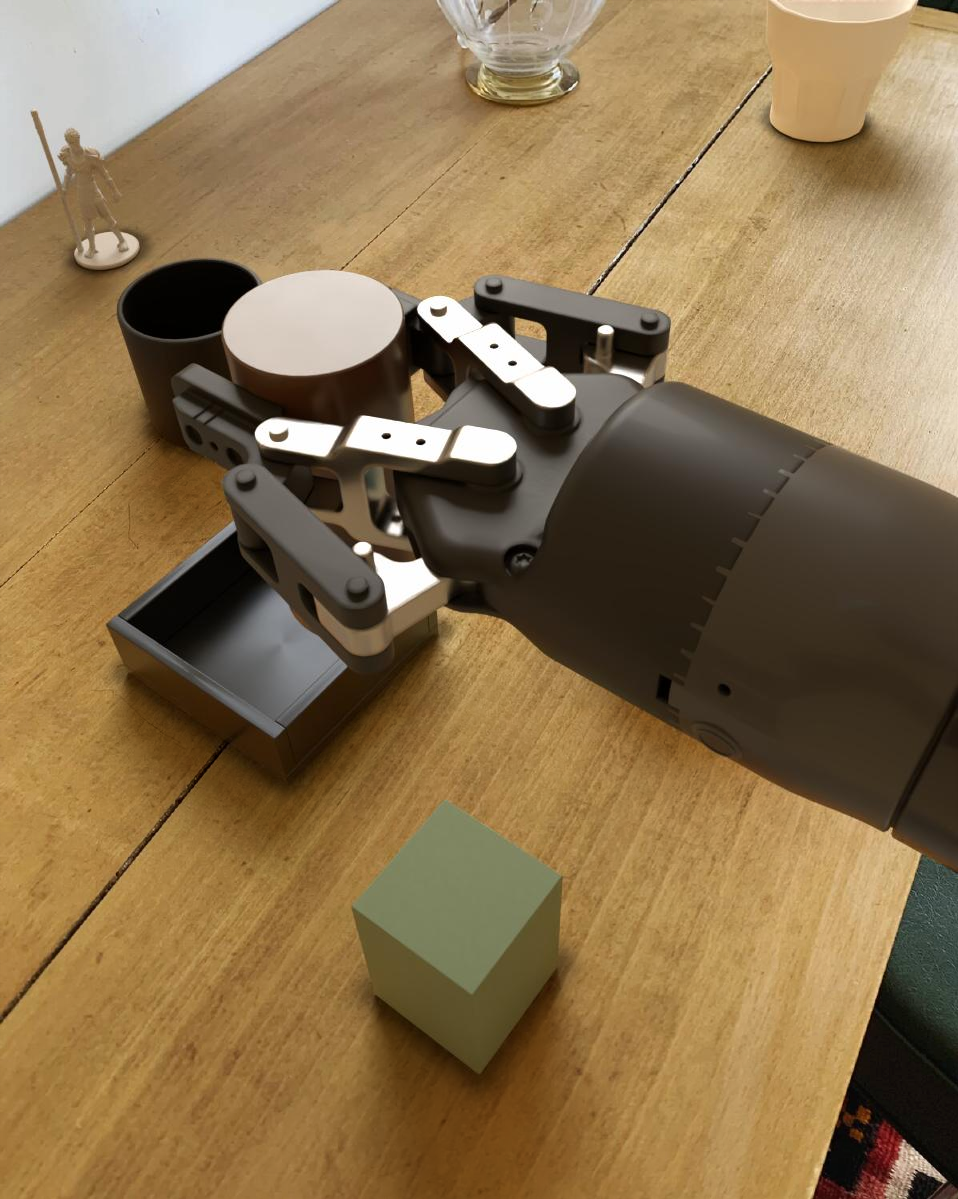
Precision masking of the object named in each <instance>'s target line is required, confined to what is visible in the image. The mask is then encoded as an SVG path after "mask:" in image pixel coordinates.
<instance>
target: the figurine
mask: <svg viewBox="0 0 958 1199" xmlns="http://www.w3.org/2000/svg"><path fill="white" fill-rule="evenodd" d="M30 115H31V118H32V122H33V124H34V128H35V130H36V133H37V135H38V137H39V140H40V143H41V147H42V148H43V152H44V155H45V157H46V160H47V163H48V165H49V169H50V172H51V175H52V178H53V181H54V184H55V186H56V190H57V192H58V193H57V198H58V199H59V200H60V202H61V204H62V207H63V210H64V214H65V216H66V218H67V222H68V224H69V228H70V230H71V234H72V238H73V240H74V243H75V246H76V247H75V249H74V253H73V255H74V259H75V262H76V263H77V264H78V265H79V266H81V267H83V268H85V269H88V270H93V271H94V270H98V271H103V270H109V269H115V268H118V267H121V266H123V265H125V264H127V263H130V261H132V260H133V259H135V258H136V256H137V255H139V252H140V248H141V247H140V242H139V240H138V239H137V238H136V237H135V235H132V234H130V233H127V232H123V231H121V230H120V228H119V225H118V223H117V221H116V220H115V219H114V217H113V216H112V214H111V213H112V212H111V211H110V210H109V208H108V205H109V202H108V200H107V199H106V198H105V196H104V195H103V193H102V192H101V190H100V189H99V187H98V185H97V183H96V180H95V175H94V174H93V170H94V171H96V172H97V173H98V174H99V175H100V177H101V178H103V180H104V183H105V184H106V185H107V187H108V188H109V189H110V191H111V193H112V199H113V200H114V201H115V202H116V203H119V202H121V201H122V199H123V196H122V194H121V192H119V190H118V189H117V186H116V183H115V182H114V180H113V179H114V178H112V177H110V174H109V171H108V170H106V168H105V166H104V163H105V158H103V157H102V156H101V153H100V151H99V150H98V149H96V148H95V147H93V146H85V147H84V146H82V145H81V135H80V133H79V131H78V130H77V129H75V127H69V128H67V129H66V131H65V132H63V135H64V136H63V137H64V141H65V142H66V143H67V144H65V145H63V146H62V147H61V149H60V151H59V153H57V154H56V156H57V159H58V160H59V161H60V162H62V165H63V166H64V167H66V168H65V173H64V175H63V184H62V182H61V179H60V176H59V173H58V171H57V167H56V164H55V162H54V159H53V156H52V153H51V150H50V146H49V144H48V141H47V138H46V135H45V130H44V127H43V124H42V122H41V119H40V116H39V112H38V110H37V109H36V108H32V109H30ZM73 175H74V176H73ZM73 177H74V179H75V182H76V188H77V199H76V200H77V203H78V205H79V209H80V213H81V220H82V221H83V225H84V226H83V231H84V233H85V235H86V238H85V239H84V240H82V239H81V235H80V234H79V231H78V228H77V226H76V224H75V220H74V217H73V213H72V211H71V208H70V205H69V203H68V200H67V195H68V191H69V189H70V185H71V182H72V179H73ZM99 217H100V218H101V219H102V220H104V222H105V223H106V227H107V229H109V230H110V231H105V232H100V233H97V234H96V232H95V227H94V224H93V222H92V221H93V220H96V219H98V218H99Z"/></svg>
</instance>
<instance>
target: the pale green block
mask: <svg viewBox="0 0 958 1199" xmlns="http://www.w3.org/2000/svg"><path fill="white" fill-rule="evenodd" d="M563 878H564V877H563V875H562V874H560V873H559V872H557V871H556V870H554V869H553V868H552V867H550V866H549V865H547V864H546V863H544V862H542V861H541V860H539V859H538V858H536V857H535V856H533V855H532V854H530V853H528V852H527V851H526V850H524V849H522V848H521V847H520V846H517V845H516V844H515V843H513V842H512V841H511V840H509V839H507V838H506V837H504V836H503V835H501V834H499V833H498V832H497V831H495V830H493V829H492V828H490V827H489V826H488V825H486V824H485V823H482V822H481V821H480V820H478V819H476V818H475V817H474V816H472V815H470V814H469V813H467V812H466V811H464V810H463V809H461V808H459V807H458V805H455V804H453V802H451V801H449V800H447V799H446V798H444V799H443V800H442V802H440V804H439V805H438V806H437V807H436V808H435V809H434V810H433V811H432V812H431V813H430V815H429V816H428V817H427V818H426V820H425V821H424V822H423V823H422V824H421V825H420V827H419V828H418V829H417V830H416V831H415V832H414V833H413V835H412V836H411V837H410V838H409V839H408V840H407V841H406V842H405V844H403V846H402V847H401V848H400V850H399V851H397V853H396V854H395V855H394V856H393V857H392V858H391V860H390V861H389V862H388V864H387V865H386V866H385V867H384V868H383V869H382V870H381V871H380V872H379V873H378V875H377V876H376V877H375V878H374V879H373V881H372V882H371V883H370V884H369V885H368V886H367V888H365V890H364V891H363V892H362V893H361V894H360V896H358V898H357V899H356V900H355V901H354V902H353V904H351V906H350V908H351V912H352V915H353V916H352V917H353V918H354V923H355V926H356V930H357V933H358V938H359V941H360V946H361V949H362V953H363V955H364V960H365V962H366V963H365V964H366V967H367V971H368V974H369V979H370V982H371V986H372V989H373V993H374V995H375V996H376V997H377V998H379V999H380V1000H382V1002H384V1003H385V1004H387V1005H388V1006H389V1007H391V1008H392V1009H393V1010H394V1011H396V1012H397V1013H399V1014H400V1015H401V1016H402V1017H404V1018H405V1019H406V1020H408V1021H409V1022H410V1023H411V1024H413V1025H414V1026H415V1027H416V1028H418V1029H419V1030H420V1031H422V1032H423V1033H425V1034H426V1035H427V1036H428V1037H429V1038H431V1039H432V1040H433V1041H435V1042H436V1043H437V1044H438V1045H440V1046H441V1047H442V1048H444V1049H445V1050H446V1051H447V1052H449V1053H450V1054H452V1055H453V1056H454V1057H456V1058H457V1059H458V1060H459V1061H461V1062H462V1063H463V1064H465V1066H467V1067H469V1069H471V1070H472V1071H474V1072H475V1073H476V1074H477V1075H481V1074H482V1073H483V1071H484V1070H485V1068H486V1067H487V1066H488V1064H489V1063H490V1062H491V1060H492V1059H493V1057H494V1056H495V1054H496V1053H497V1051H498V1050H499V1049H500V1047H501V1046H502V1045H503V1043H504V1042H505V1041H506V1039H507V1038H508V1036H509V1035H510V1034H511V1032H512V1031H513V1029H514V1028H515V1026H516V1025H517V1024H518V1022H520V1020H521V1019H522V1017H523V1016H524V1014H525V1013H526V1012H527V1010H528V1008H529V1007H530V1006H531V1004H532V1003H533V1001H534V1000H535V999H536V997H537V996H538V995H539V993H540V992H541V990H542V989H543V988H544V986H545V985H546V983H548V982H549V979H550V978H551V976H553V974H554V973H555V971H556V970H557V968H558V966H559V949H560V930H561V914H562V913H561V912H562V895H563V894H562V893H563Z"/></svg>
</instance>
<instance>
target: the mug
mask: <svg viewBox="0 0 958 1199" xmlns="http://www.w3.org/2000/svg"><path fill="white" fill-rule="evenodd" d="M261 284H263V282H262V280H261V278H260V277H259V275H258V274H257V273H256V272H254V271H253V270H252V269H251V268H249V267H247V266H246V265H244V264H242V263H239V262H236V261H233V260H229V259H223V258H218V257H217V258H216V257H195V258H187V259H182V260H176V261H172V262H168V263H165V264H163V265H160V266H157V267H155V268H152V269H151V270H148V271H146V272H144V273H143V274H141V275H140V276H138V277H137V278H135V279H134V280H132V282H130V283H129V284H128V285H127V287H126V288H125V289H124V290H123V291H122V293H121V294H120V296H119V298H118V300H117V304H116V318H117V321H118V325H119V328H120V330H121V334H122V337H123V340H124V342H125V346H126V349H127V352H128V356H129V358H130V360H131V364H132V367H133V369H134V370H133V371H134V374H135V377H136V379H137V382H138V385H139V389H140V392H141V394H142V397H143V401H144V403H145V406H146V409H147V412H148V415H149V419H150V422H151V424H152V426H153V428H154V429H155V431H157V433H158V434H159V435H160V436H161V437H162V438H163V439H165V440H166V441H167V442H169V443H171V444H173V445H175V446H176V447H179V448H183V449H186V450H191V449H190V447H189V446H188V444H187V443H186V441H185V440H184V437H183V434H182V430H181V427H180V424H179V421H178V417H177V414H176V411H175V408H174V404H173V401H172V400H173V399H174V398H175V395H174V391H173V388H172V384H171V378H172V377H173V376H174V375H176V374H177V373H179V372H180V371H182V370H183V369H185V368H186V367H187V366H189V365H190V364H193V363H194V364H197V365H200V366H202V367H203V368H205V369H207V370H209V371H211V372H213V373H215V374H217V375H219V376H221V377H223V378H225V379H227V380H229V381H231V382H233V381H232V377H231V373H230V369H229V365H228V361H227V357H226V353H225V349H224V345H223V341H222V334H221V331H222V325H223V321H224V319H225V316H226V314H227V313H228V311H229V309H230V308H231V307H232V306H233V304H234V303H235V302H236V301H237V300H238V299H239V298H241V297H242V296H243V295H244V294H246V293H247V292H248V291H250V290H252V289H253V288H255V287H257V286H259V285H261Z"/></svg>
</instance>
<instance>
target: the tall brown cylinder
mask: <svg viewBox="0 0 958 1199" xmlns="http://www.w3.org/2000/svg"><path fill="white" fill-rule="evenodd" d="M384 284H385V283H382V282H380V281H379V280H377V279H375V278H372V277H370V276H367V275H364V274H361V273H357V272H352V271H347V270H339V269H334V270H330V269H312V270H303V271H298V272H293V273H289V274H285V275H281V276H278V277H275V278H273V279H270V280H266V281H265V282H262V284H261V285H259V286H257V287H255V288H253V289H252V290H250V291H248V292H247V293H246V294H244V295H243V296H242V297H241V298H239V299H238V300H237V301H236V302H235V303H234V304H233V306H232V307H231V308H230V309H229V311H228V313H227V314H226V316H225V319H224V321H223V325H222V331H221V334H222V341H223V345H224V349H225V353H226V357H227V361H228V365H229V369H230V373H231V377H232V381H233V383H235V384H237V385H239V386H241V387H243V388H245V389H246V390H248V391H250V392H251V393H253V394H255V395H257V396H260V397H262V398H264V399H266V400H268V401H270V402H272V403H274V404H276V405H278V406H280V407H282V412H283V416H284V417H290V418H295V419H301V420H307V421H313V422H318V423H324V424H330V425H335V426H342V427H345V426H348V425H349V424H350V422H351V420H352V419H353V418H355V417H357V416H369V417H375V418H381V419H387V420H392V421H398V422H404V423H410V424H414V423H415V422H416V416H415V407H414V406H415V405H414V396H413V387H412V376H411V375H410V365H409V355H408V345H407V335H406V325H405V315H404V310H403V306H402V304H401V302H400V300H399V299H398V297H397V296H396V295H395V293H394V292H393V291H392V290H390V289H389V288H388V287H387V286H388V285H387V286H385V285H386V284H385V285H384ZM311 471H312V475H315V476H320V477H325V478H331V479H336V480H338V478H337V476H336V475H335V474H333V473H332V472H330V471H327V470H323V469H317V468H312V467H311ZM383 471H384V479H385V486H386V490H387V492H388V494H389V495H390V496H391V497H392V498H393V499H394V500H396V495H395V487H394V479H393V469H388V468H383ZM323 523H324V524H325V525H326V526H327V527H328V528H330V529H331V530H332V531H333V532H334V533H335V534H336V535H337V536H338V537H339V538H340V539H341V540H342V541H343V542H344V543H345V544H346V545H348V546H349V547H350V548H351V549H352V547H353V546H354V545H355V544H357V543H360V542H361V541H358V540H356V539H355V538H353V537H352V536H351V535H350V534H349V533H348V532H347V531H346V530H345V529H344V528H343V527H342V526H340V525H337V524H332V523H326V522H323ZM371 545H372V547H373V552H375V553H379V554H381V555H383V556H384V557H386V558H387V559H389V560H391V561H394V562H401V563H405V562H412V561H415V560H416V558H415V556H414V553H413V552H410V551H405V550H400V549H395V548H390V547H385V546H379V545H374V544H371ZM289 607H290V606H289ZM290 610H291V612H292V614H293V615H294V617H295V618H296V619H297V621H298V622H299V623H300V624H301V625H302V626H303V627H305V628H306V629H307V630H309V631H310V632H312V633H314V634H316V633H315V632H314V631H313V630H312V629H311V628H310V627H309V626H308V624H307V623H306V622H305V621H304V620H303V619H302V618H301V617H300V616H299V615H298V614H297V613H296V612H295V611H294V610H293V609H292V608H291V607H290ZM316 635H317V634H316ZM317 636H318V635H317Z"/></svg>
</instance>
